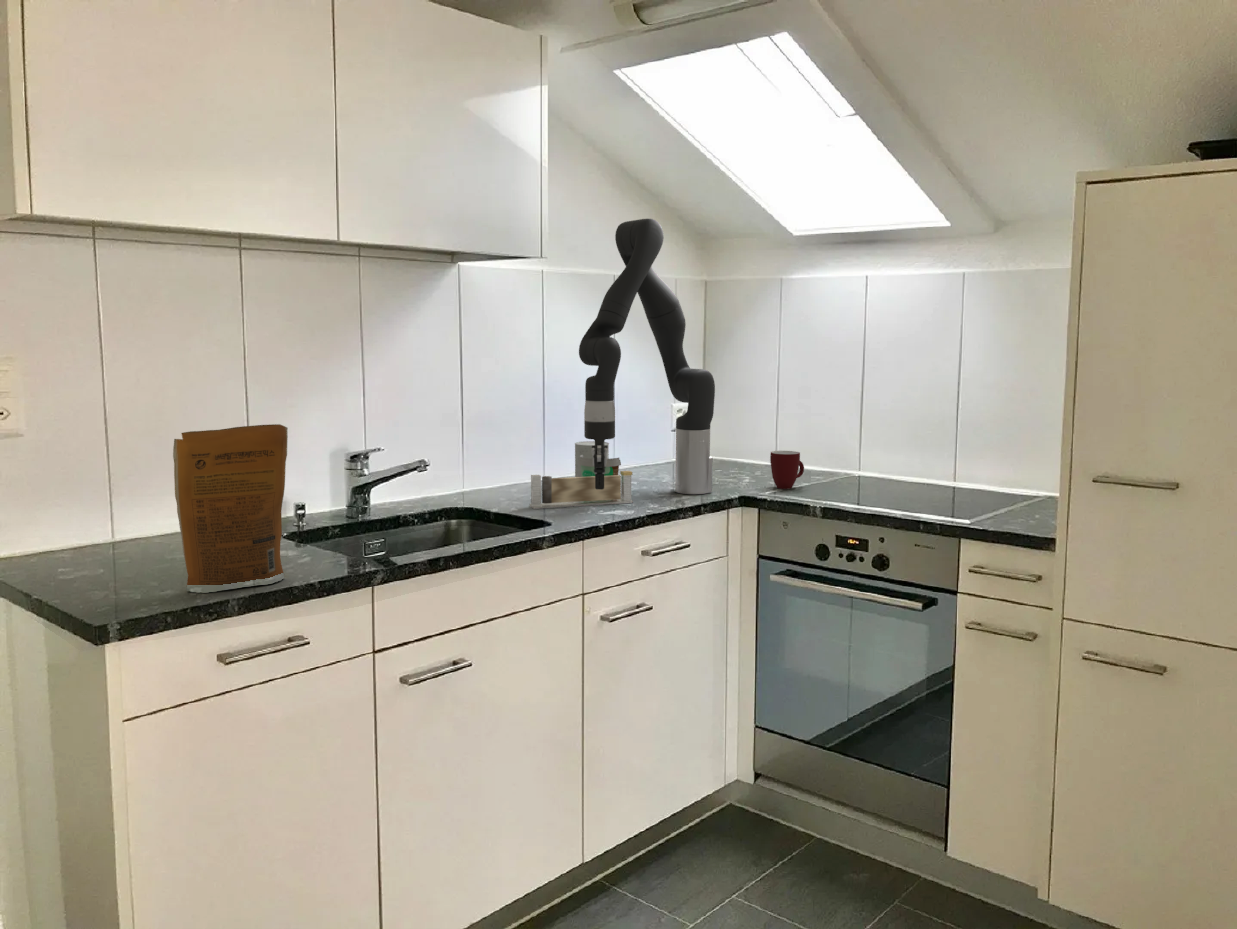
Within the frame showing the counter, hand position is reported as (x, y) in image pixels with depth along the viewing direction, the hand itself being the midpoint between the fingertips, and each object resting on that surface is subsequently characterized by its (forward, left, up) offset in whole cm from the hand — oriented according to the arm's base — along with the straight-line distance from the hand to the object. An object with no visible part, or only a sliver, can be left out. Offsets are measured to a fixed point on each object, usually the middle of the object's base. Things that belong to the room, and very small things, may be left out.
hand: (599, 488), depth 247 cm
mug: (-59, -12, -5) cm, 60 cm away
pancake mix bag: (+83, +50, -5) cm, 97 cm away
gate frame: (+3, -6, -5) cm, 8 cm away
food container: (-5, -19, -5) cm, 20 cm away
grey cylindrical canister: (-8, -31, -5) cm, 32 cm away
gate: (+3, -5, -4) cm, 7 cm away
